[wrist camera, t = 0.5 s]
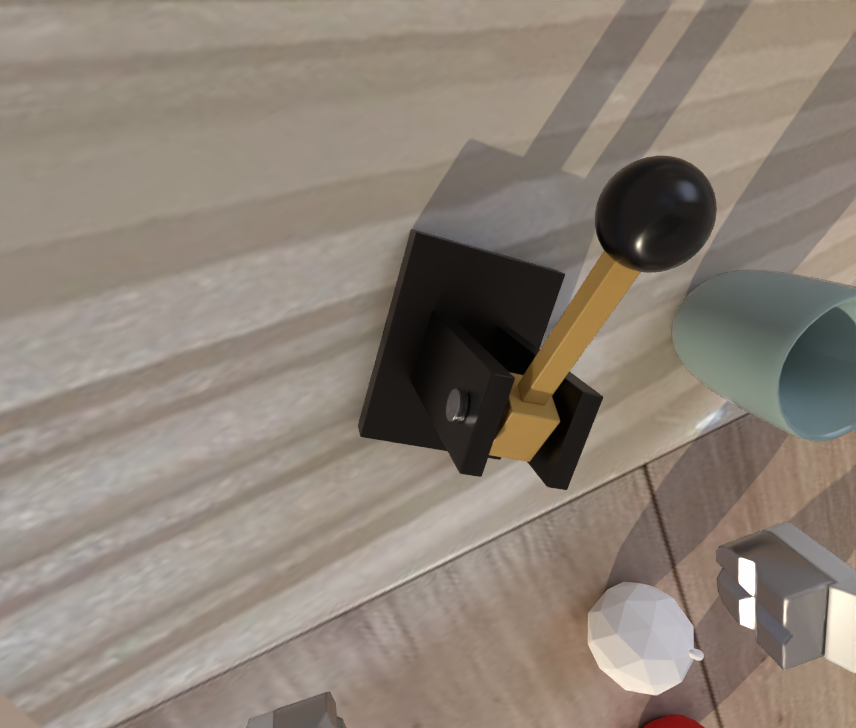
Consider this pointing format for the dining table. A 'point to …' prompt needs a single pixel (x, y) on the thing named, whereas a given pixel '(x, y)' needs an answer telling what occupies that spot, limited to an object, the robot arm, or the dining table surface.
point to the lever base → (469, 357)
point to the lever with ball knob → (610, 282)
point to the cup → (775, 348)
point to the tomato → (673, 722)
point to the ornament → (641, 638)
